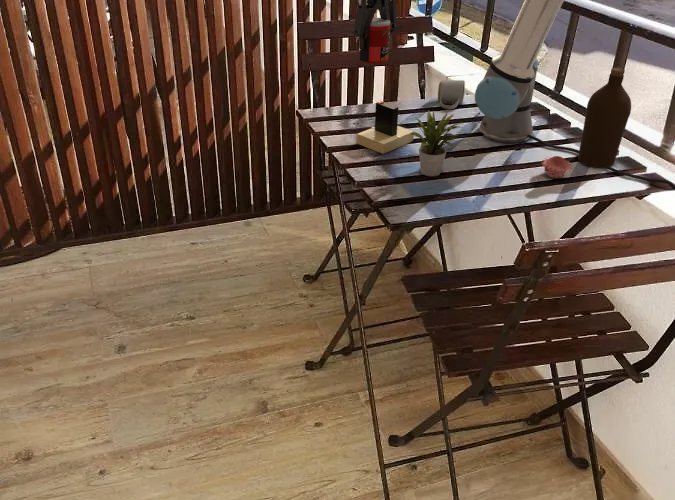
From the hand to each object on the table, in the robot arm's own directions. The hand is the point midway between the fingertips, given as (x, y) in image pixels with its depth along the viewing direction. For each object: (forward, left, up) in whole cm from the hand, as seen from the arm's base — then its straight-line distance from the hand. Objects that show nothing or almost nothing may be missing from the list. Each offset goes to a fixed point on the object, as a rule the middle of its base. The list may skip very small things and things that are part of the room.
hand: (374, 57), depth 185 cm
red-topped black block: (-11, +7, -17) cm, 22 cm away
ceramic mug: (-5, -32, -21) cm, 39 cm away
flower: (-56, -8, -21) cm, 60 cm away
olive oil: (-59, -25, -21) cm, 68 cm away
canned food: (0, 0, -1) cm, 1 cm away
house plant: (-33, +14, -21) cm, 41 cm away
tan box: (-11, +7, -20) cm, 24 cm away
